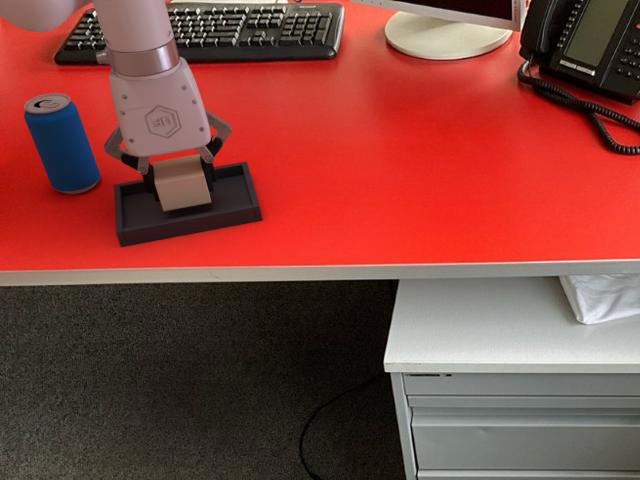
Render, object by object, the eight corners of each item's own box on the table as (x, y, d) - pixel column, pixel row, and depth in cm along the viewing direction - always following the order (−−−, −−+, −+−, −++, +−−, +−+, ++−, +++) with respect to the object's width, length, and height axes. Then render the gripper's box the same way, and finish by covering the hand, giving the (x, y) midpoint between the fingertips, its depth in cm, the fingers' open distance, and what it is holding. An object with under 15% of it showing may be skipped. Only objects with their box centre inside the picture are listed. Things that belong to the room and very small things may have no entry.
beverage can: (75, 170, 126) (45, 88, 118) (112, 177, 124) (84, 95, 116) (42, 192, 122) (8, 109, 114) (80, 200, 120) (48, 116, 112)
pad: (163, 211, 114) (154, 183, 111) (160, 189, 118) (152, 161, 115) (211, 202, 115) (203, 175, 113) (206, 180, 119) (199, 153, 117)
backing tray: (120, 246, 111) (115, 232, 110) (118, 198, 120) (113, 184, 119) (262, 220, 116) (259, 205, 114) (250, 174, 124) (246, 161, 123)
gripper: (66, 80, 100) (116, 219, 112) (223, 56, 104) (255, 193, 116) (67, 55, 105) (114, 190, 117) (216, 33, 109) (247, 166, 121)
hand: (184, 190), depth 116 cm, fingers closed on pad, 6 cm apart
